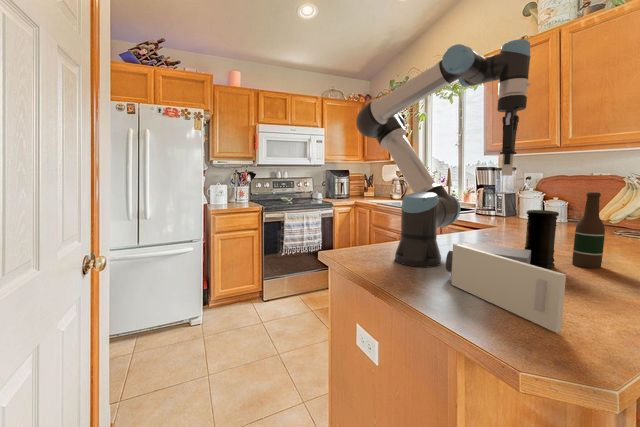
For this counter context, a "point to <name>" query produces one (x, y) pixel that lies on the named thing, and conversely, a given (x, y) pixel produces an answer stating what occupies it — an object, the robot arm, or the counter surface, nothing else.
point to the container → (541, 237)
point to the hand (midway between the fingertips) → (506, 175)
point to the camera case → (500, 251)
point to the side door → (511, 285)
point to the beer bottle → (589, 235)
